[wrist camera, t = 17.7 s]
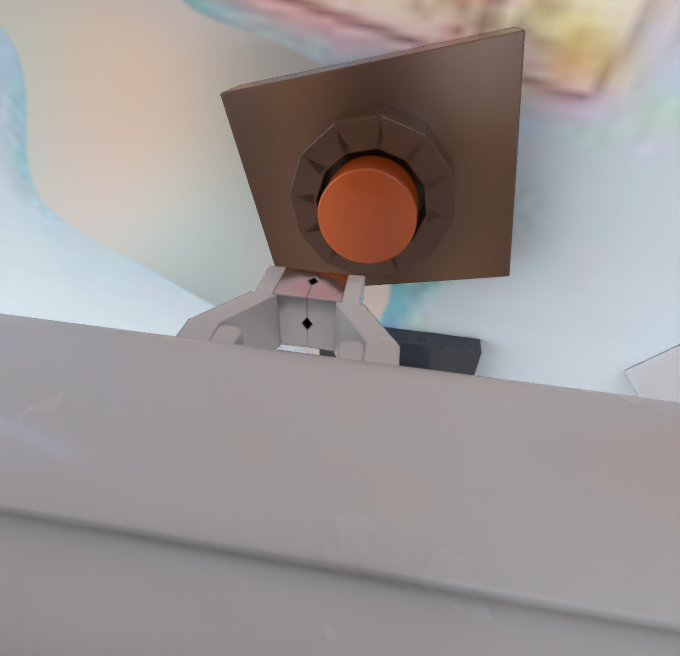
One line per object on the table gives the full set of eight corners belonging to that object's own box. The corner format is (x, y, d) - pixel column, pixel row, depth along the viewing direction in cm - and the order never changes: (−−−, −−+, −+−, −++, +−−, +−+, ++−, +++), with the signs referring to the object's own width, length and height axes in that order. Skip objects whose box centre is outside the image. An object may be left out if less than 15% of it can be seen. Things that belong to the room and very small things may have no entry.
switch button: (335, 249, 19) (328, 267, 18) (317, 162, 17) (307, 176, 16) (421, 241, 18) (420, 260, 17) (414, 147, 16) (412, 161, 15)
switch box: (293, 271, 25) (272, 309, 22) (238, 85, 19) (200, 101, 16) (503, 255, 22) (515, 297, 19) (515, 26, 16) (534, 32, 13)
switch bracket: (323, 409, 32) (280, 568, 23) (323, 319, 27) (265, 482, 18) (452, 429, 31) (459, 605, 22) (480, 339, 26) (504, 525, 16)
